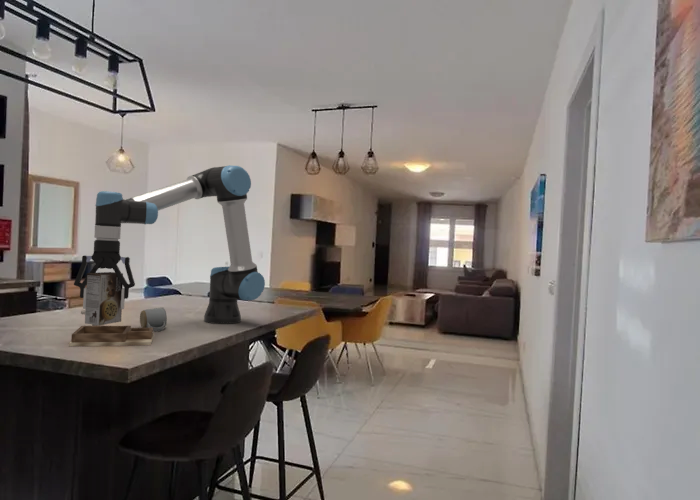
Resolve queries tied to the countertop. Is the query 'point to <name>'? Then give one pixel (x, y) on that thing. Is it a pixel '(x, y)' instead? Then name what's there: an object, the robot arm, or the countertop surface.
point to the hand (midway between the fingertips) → (103, 308)
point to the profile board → (111, 336)
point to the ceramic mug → (153, 319)
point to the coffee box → (103, 298)
